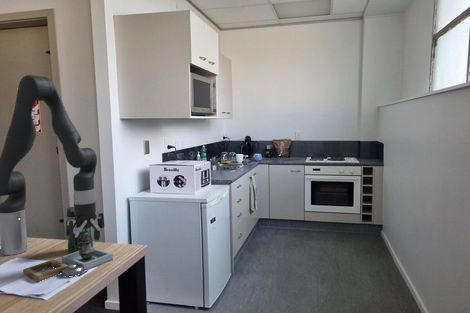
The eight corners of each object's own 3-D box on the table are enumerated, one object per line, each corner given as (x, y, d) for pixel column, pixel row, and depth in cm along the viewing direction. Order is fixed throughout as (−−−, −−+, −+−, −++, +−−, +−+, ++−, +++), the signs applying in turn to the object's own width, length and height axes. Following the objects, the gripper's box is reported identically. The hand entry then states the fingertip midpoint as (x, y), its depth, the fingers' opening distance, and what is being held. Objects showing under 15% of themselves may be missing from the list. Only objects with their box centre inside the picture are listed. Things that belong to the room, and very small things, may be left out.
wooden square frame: (23, 274, 120) (23, 269, 120) (53, 264, 128) (53, 259, 128) (38, 282, 114) (38, 276, 114) (69, 270, 123) (68, 265, 122)
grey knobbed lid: (57, 274, 120) (57, 266, 120) (76, 267, 126) (76, 259, 125) (69, 279, 116) (68, 271, 116) (87, 271, 122) (87, 263, 122)
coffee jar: (69, 255, 138) (67, 209, 136) (66, 249, 144) (64, 205, 143) (95, 250, 143) (93, 206, 142) (91, 244, 150) (89, 202, 148)
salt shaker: (89, 263, 128) (87, 231, 126) (75, 262, 129) (73, 231, 128) (98, 257, 133) (97, 227, 132) (85, 256, 135) (83, 226, 133)
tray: (62, 262, 130) (62, 256, 130) (91, 252, 140) (90, 246, 140) (84, 271, 122) (83, 264, 122) (112, 260, 132) (112, 253, 132)
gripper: (95, 196, 137) (97, 236, 138) (60, 203, 125) (63, 247, 127) (107, 198, 133) (109, 239, 134) (72, 206, 121) (74, 251, 123)
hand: (86, 243), depth 131 cm, fingers open, 8 cm apart
